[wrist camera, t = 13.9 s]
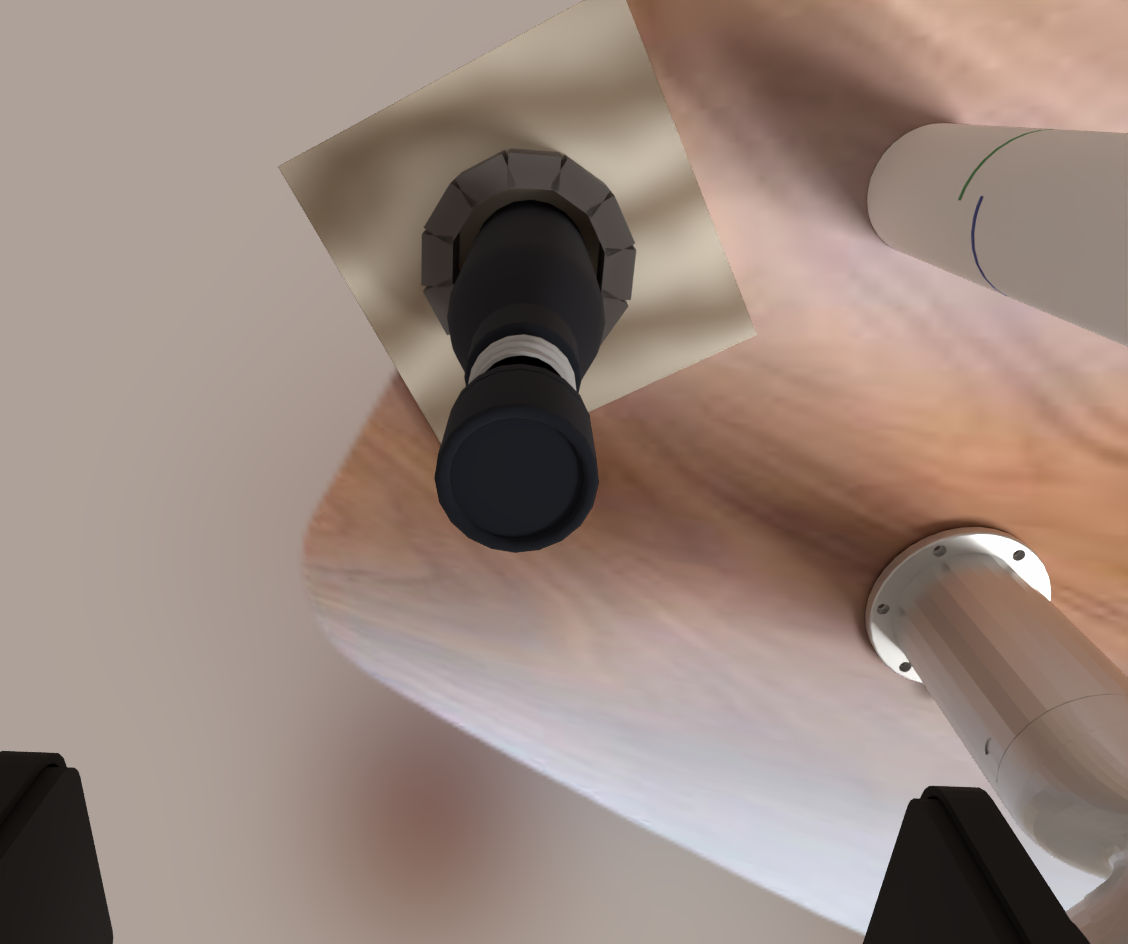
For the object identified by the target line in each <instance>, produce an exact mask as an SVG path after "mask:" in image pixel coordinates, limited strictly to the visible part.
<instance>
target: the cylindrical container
mask: <svg viewBox="0 0 1128 944" xmlns="http://www.w3.org/2000/svg"><path fill="white" fill-rule="evenodd" d="M867 207H868V215H869V218H870V221H871V224H872V226H873V228H874V230H875V231H876V233H877V235H878V236H879V237H880V238H881V239H882V240H883V241H884V242H885V243H886V244H887V245H889V246H890V247H892V248H894V249H895V250H897V251H900V252H902V253H904V254H907V255H909V256H912V257H914V258H916V259H919V260H921V261H924V262H926V263H928V264H931V265H933V266H936V267H938V268H940V269H943V270H945V271H948V272H950V273H952V274H955V275H957V276H960V277H962V278H964V279H967V280H969V281H972V282H974V283H976V284H979V285H981V286H984V287H986V288H988V289H991V290H993V291H996V292H998V293H1000V294H1003V295H1005V296H1008V297H1010V298H1012V299H1015V300H1017V301H1019V302H1022V303H1024V304H1027V305H1029V306H1031V307H1034V308H1036V309H1039V310H1041V311H1043V312H1046V313H1048V314H1051V315H1053V316H1055V317H1058V318H1060V319H1063V320H1065V321H1067V322H1070V323H1072V324H1075V325H1077V326H1079V327H1082V328H1084V329H1087V330H1089V331H1091V332H1094V333H1096V334H1099V335H1101V336H1103V337H1106V338H1108V339H1111V340H1113V341H1115V342H1118V343H1120V344H1123V345H1125V346H1127V347H1128V133H1113V132H1095V131H1077V130H1059V129H1041V128H1023V127H1005V126H987V125H969V124H951V123H937V124H929V125H925V126H922V127H918V128H916V129H914V130H912V131H910V132H908V133H906V134H905V135H903V136H902V137H901V138H899V139H898V140H897V141H895V142H894V143H893V144H892V145H891V146H890V147H889V148H888V149H887V151H886V152H885V153H884V154H883V156H882V157H881V159H880V160H879V162H878V163H877V165H876V167H875V169H874V172H873V174H872V176H871V179H870V183H869V187H868V194H867Z"/></svg>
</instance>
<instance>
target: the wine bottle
mask: <svg viewBox="0 0 1128 944" xmlns="http://www.w3.org/2000/svg"><path fill="white" fill-rule="evenodd" d="M447 321H448V327H449V333H450V339H451V344H452V348H453V351H454V353H455V355H456V357H457V359H458V361H459V363H460V365H461V367H462V368H463V370H464V372H465V375H464V379H465V385H466V387H465V388H464V389H463V390H462V391H461V392H460V394H459V396H458V398H457V399H456V401H455V403H454V405H453V407H452V409H451V411H450V415H449V418H448V422H447V425H446V429H445V432H444V436H443V439H442V443H441V446H440V450H439V453H438V459H437V465H436V471H435V483H436V488H437V493H438V498H439V502H440V504H441V506H442V507H443V509H444V511H445V513H446V514H447V516H448V518H449V519H450V521H451V522H452V523H453V524H454V525H455V526H456V527H457V528H458V529H459V530H460V531H462V532H463V533H464V534H465V535H466V536H467V537H468V538H470V539H472V540H474V541H476V542H478V543H480V544H482V545H484V546H487V547H489V548H491V549H496V550H503V551H509V552H515V553H516V552H525V551H534V550H540V549H543V548H545V547H548V546H550V545H553V544H555V543H557V542H560V541H562V540H563V539H565V538H566V537H567V536H568V535H570V534H571V533H572V532H573V531H574V530H576V529H577V528H578V527H579V526H581V524H582V522H583V521H584V519H585V518H586V516H587V515H588V513H589V512H590V510H591V509H592V507H593V504H594V500H595V496H596V492H597V488H598V484H599V479H598V470H597V460H596V453H595V447H594V441H593V435H592V428H591V422H590V416H589V413H588V411H587V409H586V406H585V404H584V402H583V400H582V398H581V396H580V394H579V390H580V385H581V380H582V379H583V377H584V376H585V374H586V372H587V371H588V369H589V367H590V366H591V364H592V362H593V361H594V359H595V357H596V356H597V354H598V351H599V348H600V344H601V340H602V336H603V331H604V327H605V316H604V305H603V298H602V295H601V292H600V288H599V285H598V282H597V279H596V276H595V273H594V270H593V267H592V263H591V260H590V257H589V254H588V251H587V248H586V245H585V242H584V240H583V237H582V235H581V233H580V230H579V228H578V226H577V225H576V224H575V223H574V222H573V221H572V219H571V218H570V217H569V216H568V215H567V214H566V213H565V212H564V211H562V210H560V209H558V208H557V207H555V206H553V205H552V204H550V203H546V202H541V201H536V200H524V201H515V202H512V203H510V204H508V205H506V206H504V207H501V208H499V209H497V210H496V211H495V212H494V213H493V214H492V215H491V216H490V217H489V218H488V219H487V220H486V221H485V222H484V223H483V225H482V227H481V229H480V231H479V233H478V235H477V237H476V239H475V241H474V243H473V245H472V248H471V250H470V252H469V254H468V256H467V258H466V261H465V263H464V265H463V267H462V269H461V271H460V274H459V276H458V278H457V280H456V282H455V285H454V287H453V289H452V291H451V293H450V300H449V307H448V313H447Z"/></svg>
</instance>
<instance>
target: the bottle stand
mask: <svg viewBox="0 0 1128 944" xmlns="http://www.w3.org/2000/svg"><path fill="white" fill-rule="evenodd" d="M278 168H279V169H280V171H281V173H282V174H283V176H284V178H285V179H286V181H287V183H288V185H289V186H290V188H291V190H292V191H293V193H294V195H295V196H296V198H297V200H298V202H299V203H300V205H301V207H302V208H303V210H304V212H305V213H306V215H307V217H308V219H309V220H310V222H311V224H312V225H313V227H314V229H315V230H316V232H317V234H318V235H319V237H320V239H321V241H322V242H323V244H324V246H325V247H326V249H327V251H328V253H329V254H330V256H331V258H332V259H333V261H334V263H335V264H336V266H337V268H338V270H339V271H340V273H341V274H342V276H343V278H344V280H345V281H346V283H347V285H348V287H349V288H350V290H351V292H352V293H353V295H354V297H355V298H356V300H357V302H358V303H359V305H360V307H361V308H362V310H363V312H364V314H365V315H366V317H367V319H368V320H369V322H370V324H371V326H372V327H373V329H374V331H375V332H376V334H377V336H378V338H379V339H380V341H381V343H382V344H383V346H384V347H385V349H386V351H387V353H388V355H389V356H390V358H391V360H392V361H393V363H394V365H395V366H396V368H397V370H398V372H399V373H400V375H401V377H402V378H403V380H404V382H405V383H406V385H407V387H408V389H409V390H410V392H411V394H412V395H413V397H414V399H415V400H416V402H417V404H418V406H419V407H420V409H421V411H422V412H423V414H424V416H425V417H426V419H427V421H428V423H429V424H430V426H431V428H432V429H433V431H434V433H435V434H436V436H437V438H438V440H439V441H440V443H442V439H443V436H444V432H445V429H446V425H447V422H448V418H449V415H450V411H451V409H452V407H453V405H454V403H455V401H456V399H457V398H458V396H459V394H460V392H461V391H462V390H463V389H464V388H465V387H466V385H465V379H464V375H465V372H464V370H463V368H462V367H461V365H460V363H459V361H458V359H457V357H456V355H455V353H454V351H453V348H452V344H451V339H450V333H449V327H448V321H447V313H448V307H449V300H450V293H451V291H452V289H453V287H454V285H455V282H456V280H457V278H458V276H459V274H460V271H461V269H462V267H463V265H464V263H465V261H466V258H467V256H468V254H469V252H470V250H471V248H472V245H473V243H474V241H475V239H476V237H477V235H478V233H479V231H480V229H481V227H482V225H483V223H484V222H485V221H486V220H487V219H488V218H489V217H490V216H491V215H492V214H493V213H494V212H495V211H496V210H497V209H499V208H501V207H504V206H506V205H508V204H510V203H512V202H515V201H524V200H536V201H541V202H546V203H550V204H552V205H553V206H555V207H557V208H558V209H560V210H562V211H564V212H565V213H566V214H567V215H568V216H569V217H570V218H571V219H572V221H573V222H574V223H575V224H576V225H577V226H578V228H579V230H580V233H581V235H582V237H583V240H584V242H585V245H586V248H587V251H588V254H589V257H590V260H591V263H592V267H593V270H594V273H595V276H596V279H597V282H598V285H599V288H600V292H601V295H602V298H603V305H604V316H605V327H604V331H603V336H602V340H601V344H600V348H599V351H598V354H597V356H596V357H595V359H594V361H593V362H592V364H591V366H590V367H589V369H588V371H587V372H586V374H585V376H584V377H583V379H582V380H581V385H580V390H579V394H580V396H581V398H582V400H583V402H584V404H585V406H586V409H587V411H588V412H590V411H592V410H595V409H597V408H599V407H601V406H603V405H605V404H608V403H610V402H612V401H614V400H616V399H618V398H621V397H623V396H625V395H627V394H629V393H632V392H634V391H636V390H638V389H640V388H642V387H645V386H647V385H649V384H651V383H653V382H655V381H658V380H660V379H662V378H664V377H666V376H668V375H671V374H673V373H675V372H677V371H679V370H682V369H684V368H686V367H688V366H690V365H692V364H695V363H697V362H699V361H701V360H703V359H705V358H708V357H710V356H712V355H714V354H716V353H718V352H721V351H723V350H725V349H727V348H729V347H732V346H734V345H736V344H738V343H740V342H742V341H745V340H747V339H749V338H751V337H753V336H755V335H757V334H756V331H755V329H754V326H753V323H752V321H751V318H750V316H749V313H748V311H747V308H746V305H745V303H744V300H743V298H742V295H741V293H740V290H739V288H738V285H737V282H736V280H735V277H734V275H733V272H732V270H731V267H730V265H729V262H728V259H727V257H726V254H725V252H724V249H723V247H722V244H721V242H720V239H719V236H718V234H717V231H716V229H715V226H714V224H713V221H712V219H711V216H710V213H709V211H708V208H707V206H706V203H705V201H704V198H703V195H702V193H701V190H700V188H699V185H698V183H697V180H696V178H695V175H694V172H693V170H692V167H691V165H690V162H689V160H688V157H687V155H686V152H685V149H684V147H683V144H682V142H681V139H680V137H679V134H678V132H677V129H676V126H675V124H674V121H673V119H672V116H671V114H670V111H669V109H668V106H667V103H666V101H665V98H664V96H663V93H662V91H661V88H660V86H659V83H658V80H657V78H656V75H655V73H654V70H653V68H652V65H651V62H650V60H649V57H648V55H647V52H646V50H645V47H644V45H643V42H642V39H641V37H640V34H639V32H638V29H637V27H636V24H635V22H634V19H633V16H632V14H631V11H630V9H629V6H628V4H627V1H626V0H583V1H581V2H579V3H578V4H576V5H574V6H572V7H570V8H568V9H567V10H565V11H563V12H561V13H559V14H557V15H556V16H554V17H552V18H550V19H548V20H546V21H545V22H543V23H541V24H539V25H538V26H535V27H534V28H532V29H530V30H528V31H526V32H524V33H522V34H521V35H519V36H517V37H515V38H513V39H511V40H510V41H508V42H506V43H504V44H502V45H500V46H499V47H497V48H495V49H493V50H491V51H490V52H488V53H486V54H484V55H482V56H480V57H478V58H477V59H475V60H473V61H471V62H469V63H467V64H466V65H464V66H462V67H460V68H458V69H456V70H454V71H453V72H451V73H449V74H447V75H445V76H444V77H442V78H440V79H438V80H436V81H434V82H433V83H431V84H429V85H427V86H425V87H423V88H421V89H420V90H418V91H416V92H414V93H412V94H411V95H409V96H407V97H405V98H403V99H401V100H399V101H398V102H396V103H394V104H392V105H390V106H388V107H387V108H385V109H383V110H381V111H379V112H378V113H375V114H374V115H372V116H370V117H368V118H366V119H364V120H363V121H361V122H359V123H357V124H355V125H354V126H352V127H350V128H348V129H346V130H344V131H343V132H341V133H339V134H337V135H335V136H333V137H331V138H330V139H328V140H326V141H324V142H322V143H320V144H319V145H317V146H315V147H313V148H311V149H309V150H308V151H306V152H304V153H302V154H300V155H298V156H297V157H295V158H293V159H291V160H289V161H287V162H286V163H284V164H282V165H280V166H279V167H278Z"/></svg>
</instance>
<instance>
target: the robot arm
mask: <svg viewBox="0 0 1128 944" xmlns="http://www.w3.org/2000/svg"><path fill="white" fill-rule="evenodd" d="M1050 599H1051V586H1050V579H1049V575H1048V573H1047V571H1046V568H1045V566H1044V564H1043V563H1042V561H1041V560H1040V559H1039V557H1038V556H1037V555H1036V553H1035V552H1034V551H1032V550H1031V549H1030V548H1029V547H1028V546H1027V545H1026V544H1025V543H1024V542H1022V541H1020V540H1019V539H1017V538H1016V537H1014V536H1012V535H1011V534H1008V533H1005V532H1002V531H999V530H997V529H991V528H984V527H961V528H956V529H951V530H946V531H942V532H939V533H937V534H934V535H931V536H928V537H926V538H924V539H922V540H920V541H919V542H917V543H915V544H913V545H911V546H910V547H908V548H907V549H906V550H904V551H903V552H902V553H900V554H899V555H898V556H897V557H895V558H894V560H893V561H892V562H891V563H890V564H889V565H888V566H887V567H886V568H885V569H884V570H883V572H882V573H881V575H880V576H879V578H878V579H877V581H876V582H875V584H874V586H873V588H872V591H871V593H870V595H869V598H868V602H867V607H866V612H865V619H866V630H867V633H868V637H869V640H870V642H871V644H872V646H873V647H874V649H875V651H876V653H877V654H878V656H879V657H880V658H881V660H882V661H883V663H884V664H886V665H887V666H888V667H889V668H890V669H891V670H893V671H894V672H895V673H897V674H899V675H901V676H903V677H905V678H906V679H909V680H913V681H916V682H919V683H923V684H924V685H925V687H926V688H927V690H928V691H929V693H930V694H931V696H932V697H933V699H934V700H935V702H936V703H937V705H938V706H939V708H940V709H941V711H942V712H943V714H944V715H945V717H946V718H947V720H948V721H949V723H950V724H951V726H952V728H953V729H954V731H955V732H956V734H957V735H958V737H959V738H960V740H961V741H962V743H963V744H964V746H965V747H966V749H967V750H968V752H969V753H970V755H971V756H972V758H973V759H974V761H975V762H976V764H977V765H978V767H979V768H980V770H981V771H982V773H983V774H984V776H985V777H986V779H987V780H988V782H989V783H990V785H991V786H992V788H993V789H994V791H995V793H996V794H997V796H998V797H999V799H1000V800H1001V802H1002V803H1003V805H1004V806H1005V808H1006V809H1007V810H1008V812H1009V813H1010V815H1011V816H1012V818H1013V819H1014V821H1015V822H1016V824H1017V825H1018V826H1019V827H1020V829H1021V830H1022V831H1023V832H1024V833H1025V834H1026V836H1028V837H1029V838H1030V839H1031V840H1032V841H1033V842H1034V843H1035V844H1036V845H1037V846H1039V847H1040V848H1041V849H1043V850H1044V851H1046V852H1047V853H1048V854H1050V855H1051V856H1053V857H1054V858H1056V859H1058V860H1060V861H1062V862H1064V863H1065V864H1067V865H1069V866H1071V867H1074V868H1076V869H1078V870H1080V871H1083V872H1086V873H1088V874H1091V875H1093V876H1096V877H1099V878H1102V879H1104V880H1106V881H1105V882H1104V883H1102V884H1101V885H1100V886H1098V887H1097V888H1096V889H1094V890H1093V891H1092V892H1090V893H1089V894H1087V895H1086V896H1085V897H1084V899H1083V900H1082V901H1080V902H1079V903H1077V904H1076V905H1074V906H1073V907H1072V908H1070V909H1069V910H1067V911H1066V912H1065V910H1064V909H1063V907H1062V906H1061V904H1060V903H1059V901H1058V900H1057V898H1056V897H1055V895H1054V894H1053V892H1052V890H1051V889H1050V887H1049V886H1048V884H1047V883H1046V881H1045V880H1044V878H1043V877H1042V875H1041V874H1040V872H1039V870H1038V869H1037V867H1036V866H1035V864H1034V863H1033V861H1032V860H1031V858H1030V857H1029V855H1028V854H1027V852H1026V850H1025V849H1024V847H1023V846H1022V844H1021V843H1020V841H1019V840H1018V838H1017V837H1016V835H1015V834H1014V832H1013V830H1012V829H1011V827H1010V826H1009V824H1008V823H1007V821H1006V820H1005V818H1004V817H1003V815H1002V814H1001V812H1000V810H999V809H998V807H997V806H996V804H995V803H994V801H993V800H992V798H991V797H990V796H989V795H988V794H987V792H986V791H984V790H982V789H981V788H975V787H948V786H929V787H927V788H926V789H925V790H924V792H923V794H922V796H921V798H920V799H912V800H911V801H910V802H909V804H908V806H907V810H906V813H905V816H904V819H903V822H902V825H901V828H900V831H899V834H898V837H897V840H896V843H895V846H894V849H893V853H892V856H891V859H890V862H889V865H888V868H887V871H886V874H885V877H884V880H883V883H882V886H881V889H880V892H879V896H878V899H877V902H876V905H875V908H874V911H873V914H872V917H871V920H870V923H869V926H868V929H867V932H866V936H865V939H864V942H863V944H1128V677H1127V676H1126V675H1125V674H1124V673H1123V672H1122V671H1121V670H1120V669H1119V668H1118V667H1117V666H1116V665H1115V664H1114V663H1113V662H1112V661H1111V660H1110V659H1109V658H1108V657H1107V656H1106V655H1105V654H1104V653H1103V652H1102V651H1101V650H1100V649H1098V648H1097V647H1096V646H1095V645H1094V644H1093V643H1092V642H1091V641H1090V640H1089V639H1088V638H1087V637H1086V636H1085V635H1084V634H1083V633H1082V632H1081V631H1080V630H1079V629H1078V628H1077V627H1076V626H1075V625H1074V624H1073V623H1072V622H1071V621H1070V620H1069V619H1068V618H1067V617H1066V616H1065V615H1064V614H1063V613H1062V612H1061V611H1060V610H1059V609H1058V608H1057V607H1056V606H1054V605H1053V604H1052V603H1051V602H1050ZM0 944H113V931H112V927H111V921H110V917H109V912H108V907H107V903H106V898H105V893H104V888H103V883H102V879H101V874H100V869H99V864H98V860H97V855H96V850H95V845H94V840H93V836H92V831H91V826H90V821H89V817H88V812H87V807H86V802H85V798H84V793H83V788H82V783H81V778H80V775H79V772H78V771H77V770H76V769H75V768H68V767H66V764H65V761H64V758H63V757H62V756H61V755H60V754H59V753H42V752H15V751H1V752H0Z"/></svg>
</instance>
